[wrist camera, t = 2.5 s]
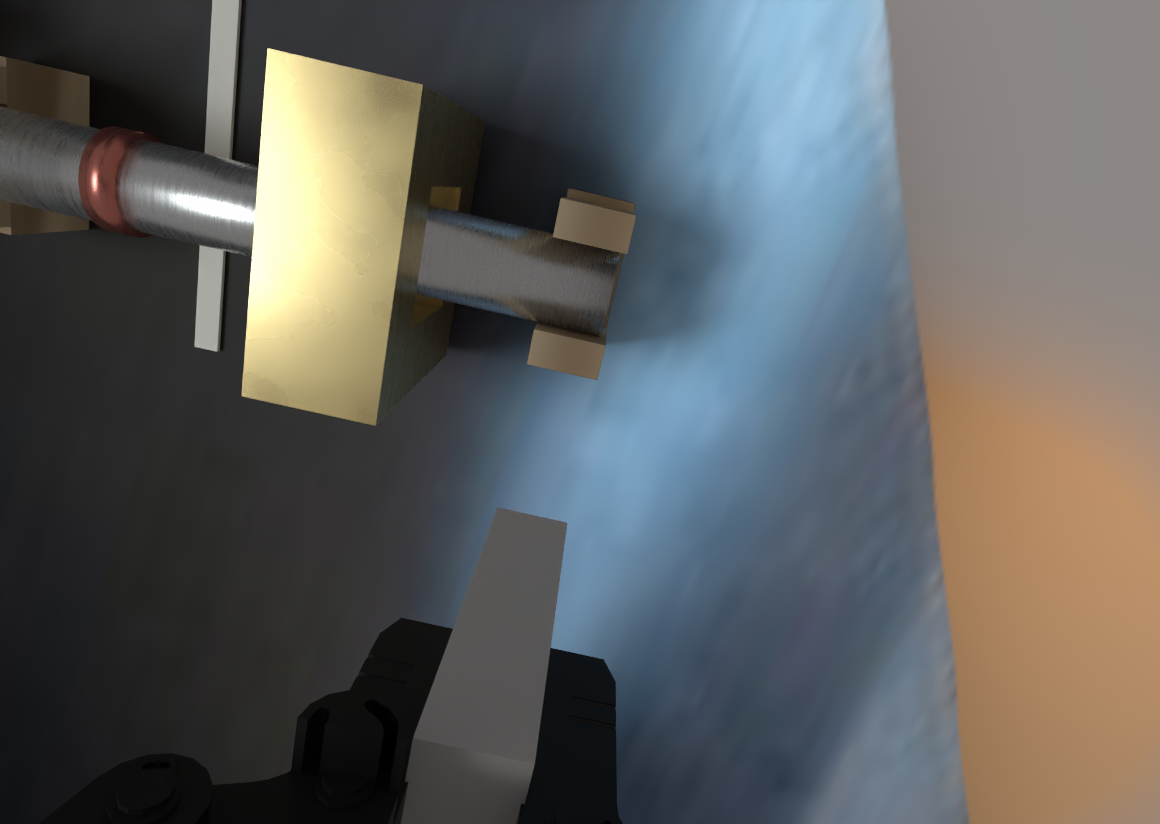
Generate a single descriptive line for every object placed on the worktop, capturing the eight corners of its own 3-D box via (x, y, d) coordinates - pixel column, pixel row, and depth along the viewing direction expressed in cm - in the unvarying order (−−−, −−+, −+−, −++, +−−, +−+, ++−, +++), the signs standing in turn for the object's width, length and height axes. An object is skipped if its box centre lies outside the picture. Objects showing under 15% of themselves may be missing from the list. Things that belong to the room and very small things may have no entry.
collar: (353, 334, 29) (241, 395, 20) (382, 97, 27) (267, 48, 18) (446, 354, 30) (375, 425, 21) (485, 121, 27) (422, 84, 18)
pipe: (-47, 184, 25) (-143, 184, 22) (-52, 84, 24) (-154, 67, 21) (599, 331, 26) (598, 351, 23) (620, 239, 25) (622, 246, 22)
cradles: (31, 216, 29) (-139, 223, 23) (29, 62, 27) (-158, 20, 21) (598, 345, 30) (595, 388, 23) (631, 202, 28) (639, 205, 21)
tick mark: (197, 345, 31) (194, 346, 30) (215, -8, 26) (213, -9, 26) (219, 350, 31) (217, 351, 30) (242, -2, 26) (239, -3, 26)
